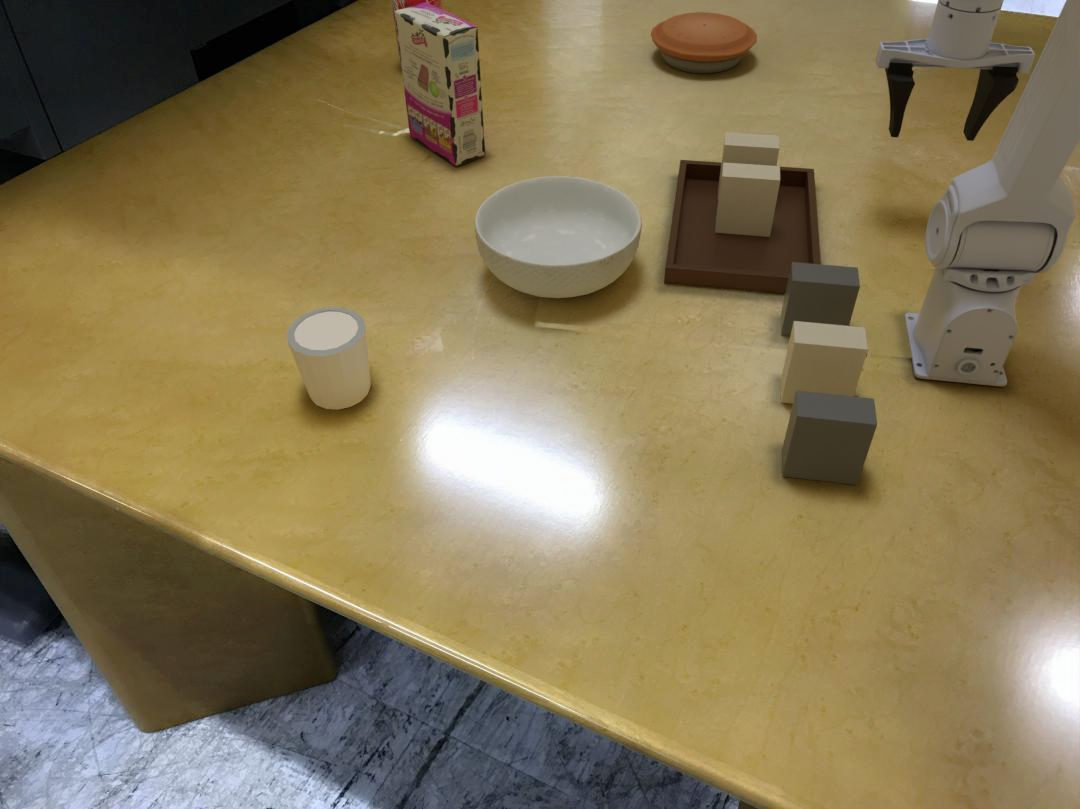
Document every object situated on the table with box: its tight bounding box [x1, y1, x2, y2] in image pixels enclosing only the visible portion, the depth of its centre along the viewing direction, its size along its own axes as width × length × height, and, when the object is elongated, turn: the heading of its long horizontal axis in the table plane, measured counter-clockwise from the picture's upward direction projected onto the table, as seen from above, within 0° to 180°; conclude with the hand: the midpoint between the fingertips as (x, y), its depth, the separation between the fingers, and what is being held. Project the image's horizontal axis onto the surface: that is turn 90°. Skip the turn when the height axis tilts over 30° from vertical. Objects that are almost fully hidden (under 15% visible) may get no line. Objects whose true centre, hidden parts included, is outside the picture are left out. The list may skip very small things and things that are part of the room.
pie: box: [650, 11, 758, 74], centre depth 133 cm, size 16×16×5 cm
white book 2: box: [715, 162, 781, 237], centre depth 98 cm, size 3×6×7 cm, turn 80°
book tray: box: [663, 159, 822, 295], centre depth 99 cm, size 23×16×3 cm
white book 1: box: [717, 131, 781, 200], centre depth 103 cm, size 3×6×7 cm, turn 80°
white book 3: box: [780, 321, 869, 405], centre depth 79 cm, size 3×6×7 cm, turn 80°
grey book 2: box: [781, 391, 878, 486], centre depth 72 cm, size 3×6×7 cm, turn 80°
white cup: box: [286, 306, 372, 411], centre depth 81 cm, size 7×7×7 cm
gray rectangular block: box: [780, 262, 861, 337], centre depth 85 cm, size 3×6×7 cm, turn 80°
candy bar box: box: [394, 2, 486, 167], centre depth 111 cm, size 11×5×16 cm, turn 39°
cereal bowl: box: [474, 175, 643, 299], centre depth 93 cm, size 17×17×7 cm
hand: (930, 134), depth 95 cm, fingers open, 7 cm apart
